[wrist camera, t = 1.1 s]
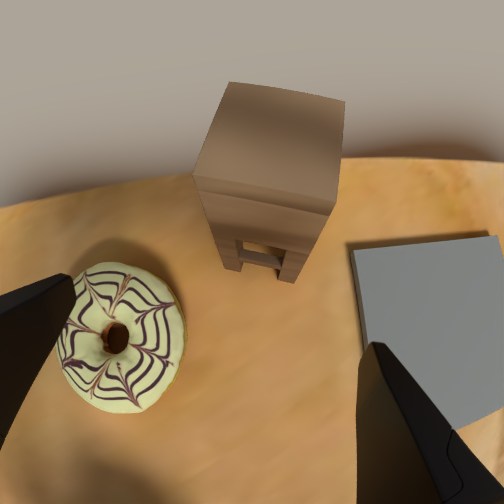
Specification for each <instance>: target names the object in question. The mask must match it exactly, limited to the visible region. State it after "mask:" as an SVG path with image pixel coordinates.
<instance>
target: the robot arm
mask: <svg viewBox="0 0 504 504" xmlns="http://www.w3.org/2000/svg"><path fill="white" fill-rule="evenodd" d="M76 301H77V296H76V291H75V287H74V282H73V279H72V277H71V276H69V275H66V274H63V273H59V274H56V275H54V276H51V277H48V278H46V279H43V280H40V281H37V282H35V283H32V284H30V285H27V286H24V287H22V288H19V289H16V290H14V291H11V292H9V293H6V294H4V295H1V296H0V450H1V448H2V445H3V443H4V441H5V438H6V436H7V434H8V432H9V430H10V427H11V425H12V423H13V421H14V419H15V417H16V415H17V413H18V411H19V409H20V407H21V405H22V403H23V401H24V399H25V397H26V395H27V393H28V391H29V390H30V388H31V386H32V384H33V382H34V380H35V378H36V377H37V375H38V373H39V371H40V370H41V368H42V366H43V364H44V363H45V361H46V359H47V357H48V356H49V354H50V352H51V351H52V349H53V347H54V346H55V344H56V342H57V340H58V338H59V336H60V334H61V332H62V330H63V328H64V326H65V324H66V322H67V320H68V318H69V316H70V314H71V312H72V310H73V308H74V306H75V304H76ZM356 439H357V502H356V504H504V487H503V486H502V485H501V484H500V483H499V482H498V481H497V480H496V478H495V477H494V476H493V475H492V474H491V473H490V472H489V471H488V470H487V468H486V467H485V466H484V465H483V464H482V463H481V462H480V461H479V459H478V458H477V457H476V456H475V455H474V454H473V453H472V451H471V450H470V449H469V448H468V446H467V445H466V444H465V443H464V441H463V440H462V439H461V438H460V436H459V435H458V434H457V432H456V431H455V430H454V429H452V426H451V425H450V423H449V422H448V421H447V419H446V418H445V417H444V416H443V414H442V413H441V412H440V410H439V409H438V408H437V407H436V405H435V404H434V403H433V402H432V400H431V399H430V398H429V396H428V395H427V394H426V393H425V391H424V390H423V389H422V388H421V386H420V385H419V384H418V383H417V381H416V380H415V379H414V378H413V377H412V375H411V374H410V373H409V372H408V370H407V369H406V368H405V367H404V365H403V364H402V363H401V362H400V361H399V359H398V358H397V357H396V356H395V355H394V353H393V352H392V351H391V350H390V349H389V347H388V346H387V345H386V344H385V343H383V342H376V341H372V342H370V343H369V345H368V346H367V348H366V350H365V352H364V354H363V356H362V358H361V360H360V363H359V367H358V387H357V403H356Z"/></svg>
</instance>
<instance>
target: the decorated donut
mask: <svg viewBox="0 0 504 504" xmlns="http://www.w3.org/2000/svg"><path fill="white" fill-rule="evenodd" d="M73 282H74V287H75V291H76V296H77V301H76V304H75V306H74V308H73V310H72V312H71V314H70V316H69V318H68V320H67V322H66V324H65V326H64V328H63V330H62V332H61V334H60V336H59V338H58V340H57V342H56V344H55V345H56V352H57V357H58V361H59V363H60V366H61V369H62V371H63V373H64V375H65V377H66V379H67V380H68V382H69V384H70V385H71V386H72V388H73V389H74V390H75V391H76V392H77V393H78V394H79V395H80V396H81V397H82V398H84V399H85V401H87V402H88V403H90V404H92V405H93V406H95V407H97V408H99V409H101V410H104V411H106V412H110V413H139V412H142V411H144V410H145V409H147V408H148V407H149V406H151V405H152V404H154V403H155V402H156V401H157V400H158V399H159V398H160V397H161V396H162V395H163V394H164V393H165V392H166V391H167V390H168V389H169V388H170V386H171V385H172V384H173V382H174V381H175V379H176V378H177V375H178V374H179V371H180V369H181V365H182V361H183V358H184V356H185V352H186V343H187V336H188V335H187V327H186V321H185V318H184V314H183V312H182V309H181V307H180V304H179V302H178V300H177V298H176V296H175V295H174V293H173V292H172V290H171V289H170V288H169V286H168V285H167V284H166V283H165V282H164V281H163V280H162V279H160V278H158V277H157V276H156V275H154V274H152V273H150V272H149V271H146V270H144V269H140V268H138V267H136V266H133V265H126V264H123V263H120V262H101V263H98V264H96V265H94V266H92V267H91V268H88V269H86V270H85V271H84V272H82V273H80V275H79V276H77V277H76V278H75V279H74V281H73ZM115 323H116V324H117V323H121V324H124V325H125V326H126V327H127V329H128V330H129V340H128V345H127V347H126V348H125V350H124V351H122V352H121V353H119V354H113V353H112V351H111V350H110V349H109V344H108V343H107V342H108V341H107V337H108V332H109V329H110V327H111V326H112V325H113V324H115Z"/></svg>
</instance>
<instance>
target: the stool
mask: <svg viewBox="0 0 504 504" xmlns="http://www.w3.org/2000/svg"><path fill="white" fill-rule="evenodd" d="M344 111H345V102H344V101H340V100H336V99H331V98H327V97H322V96H318V95H313V94H308V93H303V92H298V91H292V90H286V89H281V88H275V87H268V86H261V85H253V84H245V83H237V82H229V83H228V86H227V88H226V90H225V93H224V95H223V97H222V100H221V102H220V104H219V107H218V109H217V112H216V114H215V117H214V119H213V121H212V124H211V126H210V129H209V131H208V134H207V136H206V139H205V141H204V144H203V147H202V149H201V152H200V154H199V157H198V160H197V162H196V165H195V168H194V170H193V173H192V176H193V179H194V182H195V185H196V188H197V191H198V194H199V197H200V199H201V202H202V205H203V208H204V211H205V214H206V217H207V220H208V222H209V225H210V228H211V231H212V234H213V237H214V239H215V242H216V245H217V248H218V251H219V253H220V256H221V259H222V262H223V265H224V267H225V269H229V270H233V271H238V272H241V269H242V265H243V262H247V263H251V264H256V265H261V266H266V267H270V268H275V269H280V273H279V278H278V280H280V281H285V282H289V283H294V282H295V281H296V279H297V277H298V275H299V273H300V271H301V269H302V268H303V266H304V264H305V262H306V260H307V258H308V256H309V254H310V253H311V251H312V249H313V247H314V245H315V243H316V241H317V239H318V237H319V235H320V233H321V231H322V230H323V228H324V226H325V224H326V222H327V220H328V218H329V216H330V214H331V212H332V210H333V208H334V206H335V204H336V201H337V192H338V183H339V173H340V163H341V152H342V140H343V127H344ZM243 241H247V242H252V243H256V244H261V245H266V246H271V247H276V248H280V249H285V253H284V256H283V257H278V256H274V255H269V254H264V253H259V252H255V251H250V250H245V249H243Z"/></svg>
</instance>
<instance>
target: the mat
mask: <svg viewBox="0 0 504 504" xmlns="http://www.w3.org/2000/svg"><path fill="white" fill-rule="evenodd" d="M350 258H351V263H352V269H353V274H354V280H355V286H356V293H357V299H358V306H359V313H360V320H361V327H362V335H363V343H364V352H365V350H366V348H367V346H368V345H369V343H370V342H372V341H376V342H383V343H385V344H386V345H387V346H388V347H389V349H390V350H391V351H392V352H393V353H394V355H395V356H396V357H397V358H398V359H399V361H400V362H401V363H402V364H403V365H404V367H405V368H406V369H407V370H408V372H409V373H410V374H411V375H412V377H413V378H414V379H415V380H416V381H417V383H418V384H419V385H420V386H421V388H422V389H423V390H424V391H425V393H426V394H427V395H428V396H429V398H430V399H431V400H432V402H433V403H434V404H435V405H436V407H437V408H438V409H439V410H440V412H441V413H442V414H443V416H444V417H445V418H446V419H447V421H448V422H449V423H450V425H451V426H452V429H454V430H458V429H460V428H462V427H464V426H466V425H469V424H471V423H473V422H475V421H477V420H479V419H481V418H483V417H485V416H487V415H489V414H491V413H493V412H495V411H497V410H499V409H500V408H502V407H504V259H503V255H502V251H501V247H500V243H499V240H498V236H497V235H495V236H486V237H477V238H468V239H458V240H449V241H439V242H430V243H420V244H410V245H401V246H391V247H381V248H371V249H361V250H353V251H352V253H351V254H350Z"/></svg>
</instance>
